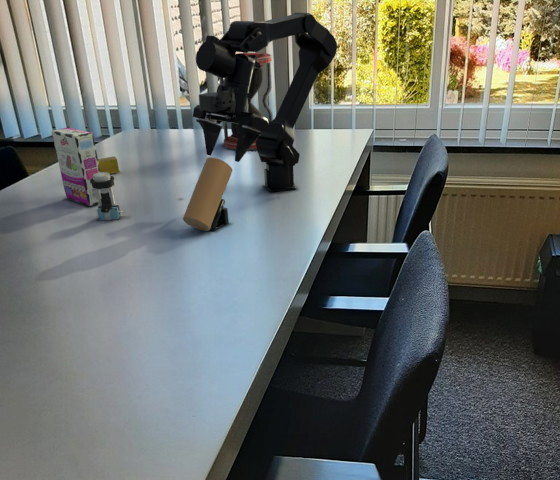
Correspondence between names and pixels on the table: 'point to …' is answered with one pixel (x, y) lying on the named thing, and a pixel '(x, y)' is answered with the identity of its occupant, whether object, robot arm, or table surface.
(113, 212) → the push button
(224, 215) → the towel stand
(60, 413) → the table surface
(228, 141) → the hourglass
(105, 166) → the medication box
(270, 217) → the table surface
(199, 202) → the paper towel roll
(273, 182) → the robot arm
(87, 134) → the candy bar box
